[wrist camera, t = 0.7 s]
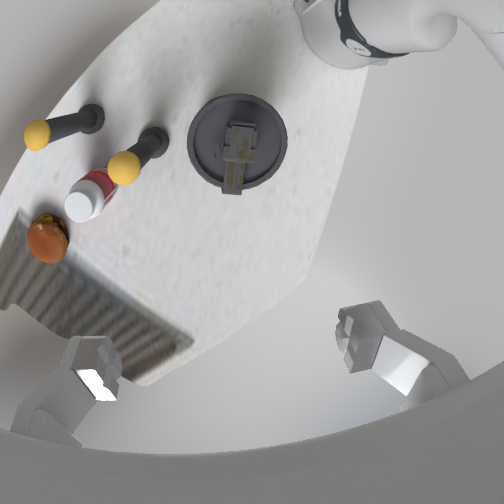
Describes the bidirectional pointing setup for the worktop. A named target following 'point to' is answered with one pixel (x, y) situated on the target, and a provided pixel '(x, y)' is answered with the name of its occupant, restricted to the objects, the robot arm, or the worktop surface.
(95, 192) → the pill bottle
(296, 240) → the worktop surface
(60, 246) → the burger
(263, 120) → the canister
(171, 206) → the worktop surface
